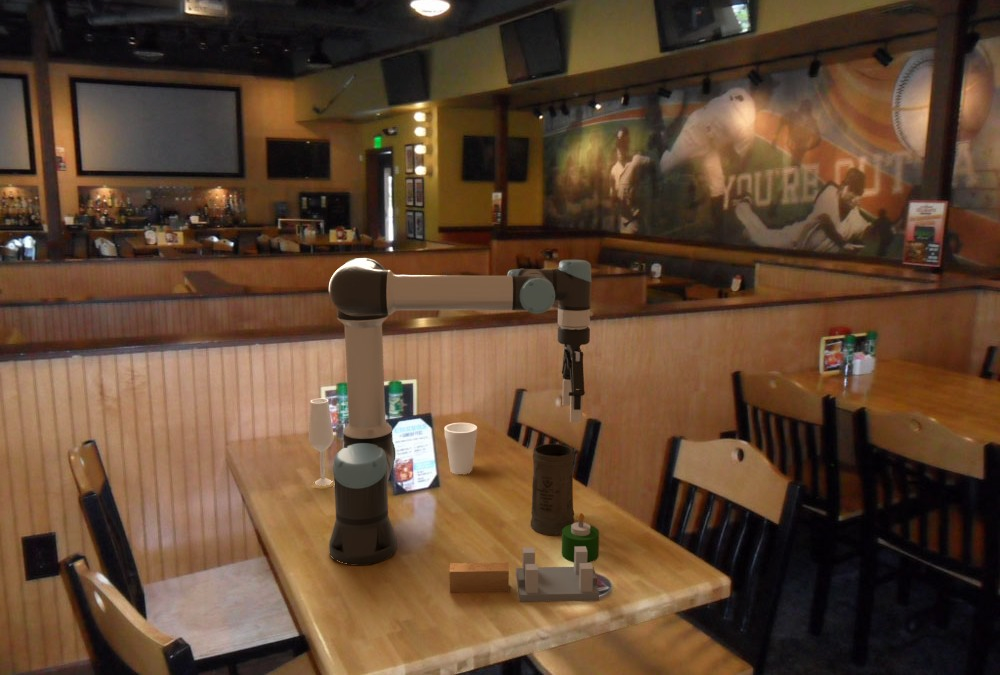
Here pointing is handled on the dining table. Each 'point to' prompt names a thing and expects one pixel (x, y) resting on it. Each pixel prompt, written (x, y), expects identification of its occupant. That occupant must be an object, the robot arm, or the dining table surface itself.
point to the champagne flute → (320, 433)
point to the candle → (580, 539)
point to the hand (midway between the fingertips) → (571, 413)
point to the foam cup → (461, 446)
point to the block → (479, 578)
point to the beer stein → (552, 488)
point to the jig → (557, 579)
